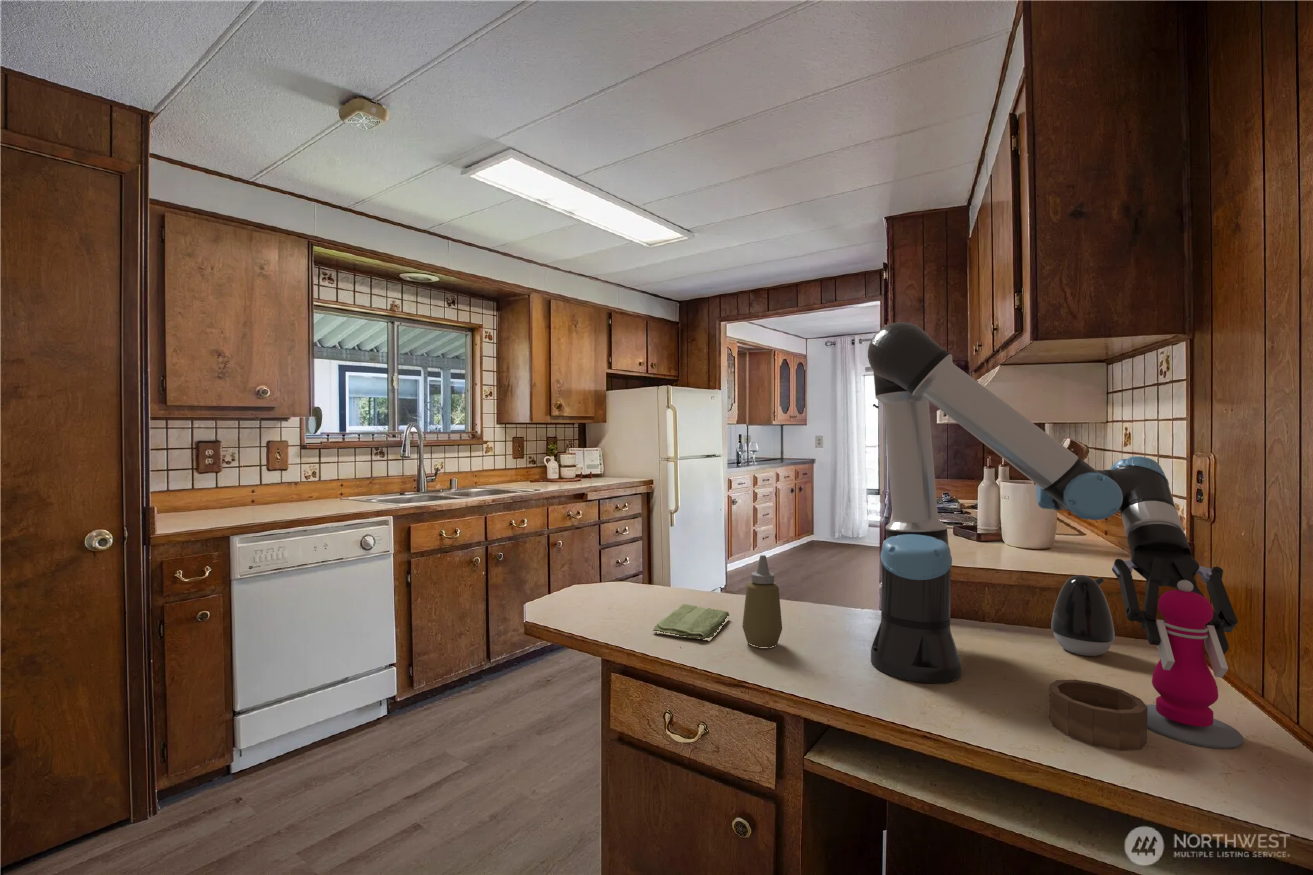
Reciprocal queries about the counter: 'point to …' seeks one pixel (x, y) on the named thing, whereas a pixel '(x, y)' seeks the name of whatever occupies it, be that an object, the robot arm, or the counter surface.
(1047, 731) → the counter surface
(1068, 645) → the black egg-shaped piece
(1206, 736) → the coaster
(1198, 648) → the pepper mill
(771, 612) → the squeeze bottle
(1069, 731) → the brown wooden bowl
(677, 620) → the washcloth
